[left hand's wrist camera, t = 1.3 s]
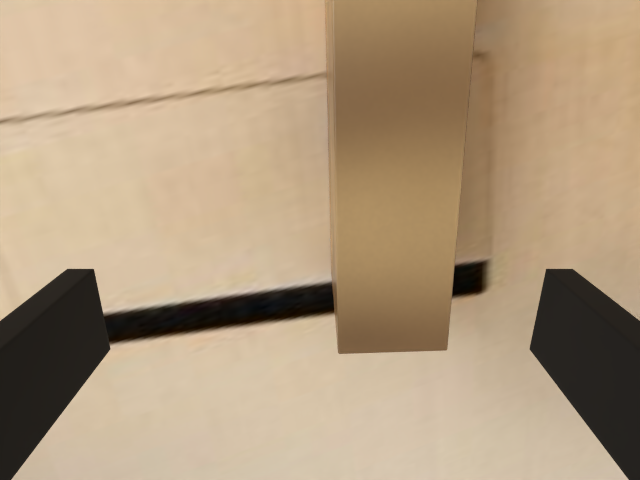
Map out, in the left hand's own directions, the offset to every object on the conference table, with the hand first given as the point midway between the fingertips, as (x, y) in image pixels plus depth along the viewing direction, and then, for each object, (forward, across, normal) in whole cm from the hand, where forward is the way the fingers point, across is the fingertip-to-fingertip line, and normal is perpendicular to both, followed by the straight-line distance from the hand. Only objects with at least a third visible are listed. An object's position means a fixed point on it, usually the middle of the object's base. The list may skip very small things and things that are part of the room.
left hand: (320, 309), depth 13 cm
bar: (+15, -3, -6) cm, 17 cm away
